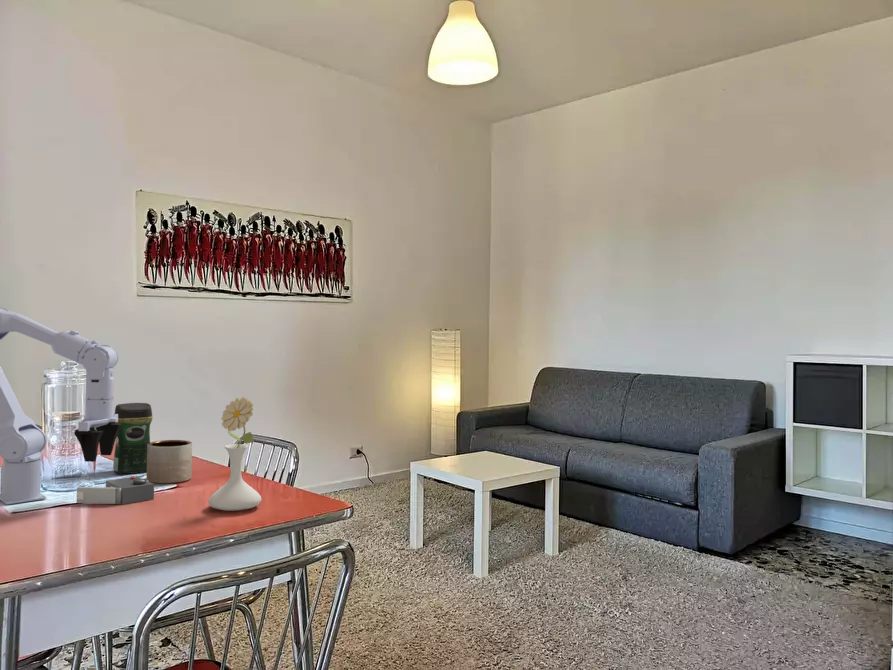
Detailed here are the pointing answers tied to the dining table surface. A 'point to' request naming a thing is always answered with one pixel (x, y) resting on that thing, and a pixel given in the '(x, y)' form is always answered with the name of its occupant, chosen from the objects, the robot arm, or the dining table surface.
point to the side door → (99, 495)
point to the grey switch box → (133, 489)
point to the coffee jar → (132, 437)
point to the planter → (169, 461)
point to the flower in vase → (236, 461)
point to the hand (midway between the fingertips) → (98, 458)
